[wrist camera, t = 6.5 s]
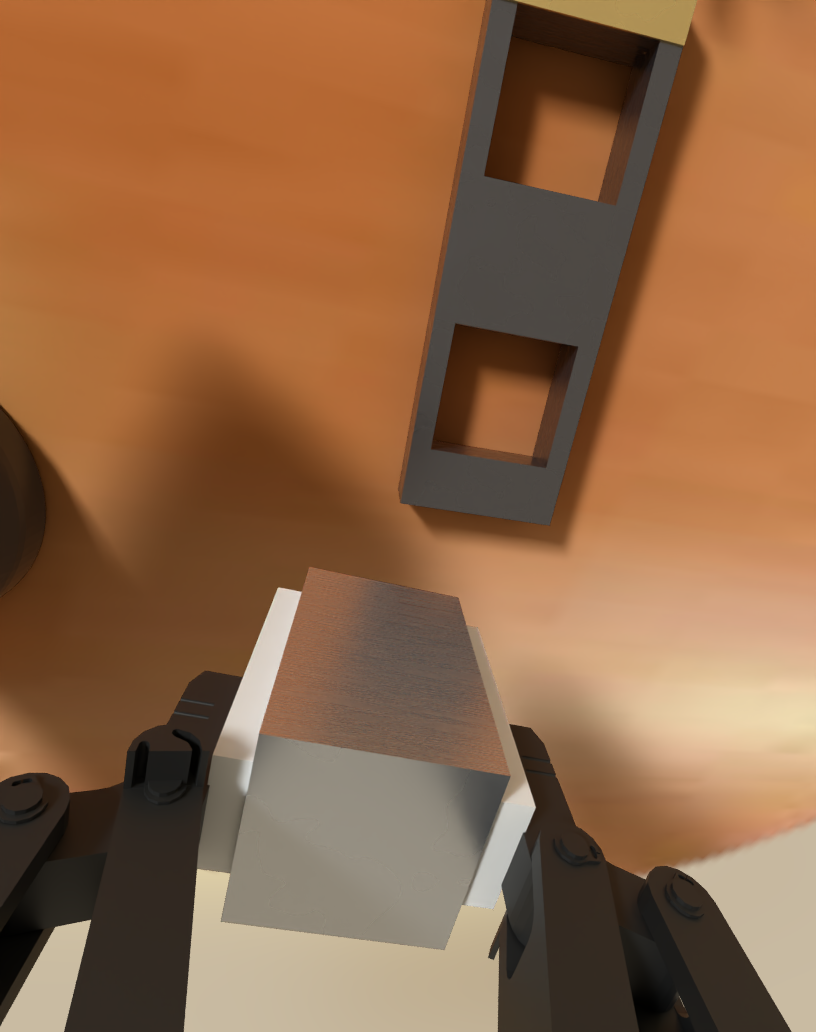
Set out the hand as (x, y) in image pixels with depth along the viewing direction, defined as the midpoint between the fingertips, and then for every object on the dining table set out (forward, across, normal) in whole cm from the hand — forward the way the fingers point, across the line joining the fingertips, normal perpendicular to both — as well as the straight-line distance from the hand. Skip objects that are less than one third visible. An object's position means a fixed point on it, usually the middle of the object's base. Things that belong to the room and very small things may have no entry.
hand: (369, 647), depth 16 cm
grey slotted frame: (+15, +4, +13) cm, 20 cm away
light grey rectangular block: (0, 0, 0) cm, 0 cm away
